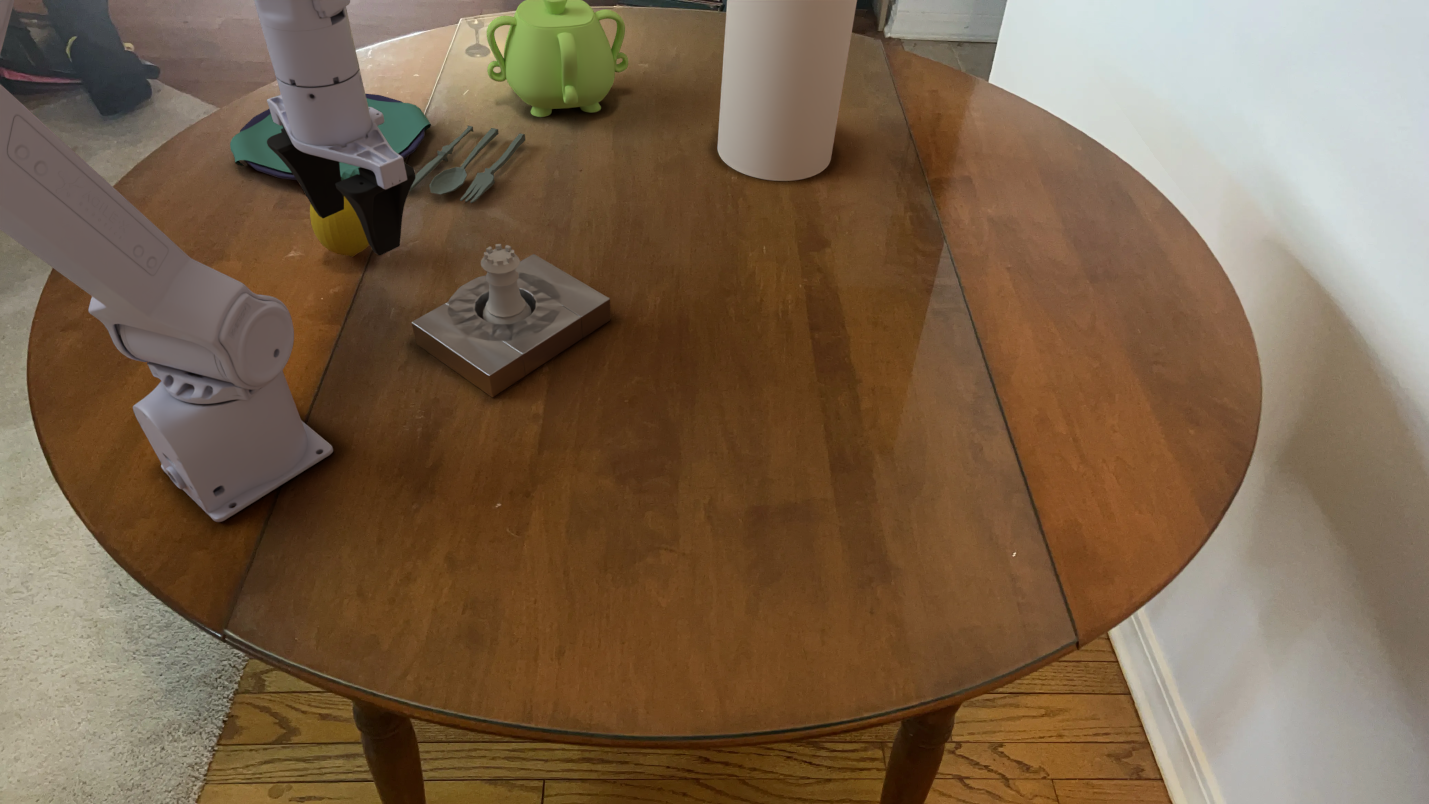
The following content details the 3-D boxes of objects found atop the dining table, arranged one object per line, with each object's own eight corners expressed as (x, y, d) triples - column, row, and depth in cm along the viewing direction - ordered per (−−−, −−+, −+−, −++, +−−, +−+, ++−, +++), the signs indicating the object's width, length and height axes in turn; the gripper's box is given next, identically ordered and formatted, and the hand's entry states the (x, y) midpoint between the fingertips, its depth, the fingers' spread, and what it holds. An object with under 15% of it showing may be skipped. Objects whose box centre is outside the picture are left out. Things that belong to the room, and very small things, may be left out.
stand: (492, 398, 75) (488, 375, 73) (409, 339, 79) (404, 317, 77) (610, 320, 83) (610, 298, 81) (529, 271, 87) (526, 249, 86)
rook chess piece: (536, 311, 83) (529, 238, 77) (530, 343, 80) (522, 269, 74) (487, 310, 83) (476, 236, 77) (479, 341, 79) (467, 267, 74)
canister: (827, 187, 102) (856, 6, 88) (708, 171, 103) (719, -10, 89) (834, 131, 111) (862, -40, 97) (726, 117, 112) (738, -54, 98)
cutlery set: (309, 95, 110) (304, 77, 108) (538, 139, 106) (536, 121, 104) (201, 174, 96) (193, 154, 95) (459, 228, 92) (456, 209, 90)
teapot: (469, 98, 112) (454, -7, 103) (545, 60, 121) (537, -39, 112) (569, 138, 106) (562, 31, 97) (642, 95, 115) (641, -7, 106)
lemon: (365, 276, 85) (346, 203, 80) (311, 266, 86) (288, 193, 80) (392, 244, 89) (375, 172, 84) (339, 235, 90) (319, 163, 84)
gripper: (427, 85, 64) (454, 245, 74) (309, 25, 70) (348, 179, 80) (340, 118, 60) (381, 283, 69) (223, 51, 66) (275, 211, 76)
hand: (358, 230), depth 74 cm, fingers open, 7 cm apart
